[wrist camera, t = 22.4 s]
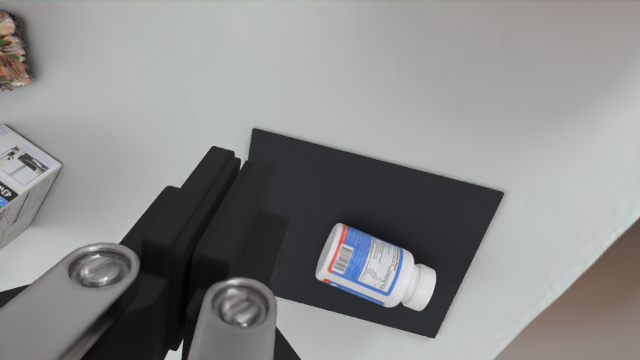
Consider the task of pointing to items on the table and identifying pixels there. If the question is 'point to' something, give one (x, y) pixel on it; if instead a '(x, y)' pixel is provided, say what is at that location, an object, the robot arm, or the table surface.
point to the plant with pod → (12, 54)
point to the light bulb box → (21, 183)
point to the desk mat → (371, 224)
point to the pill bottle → (374, 269)
